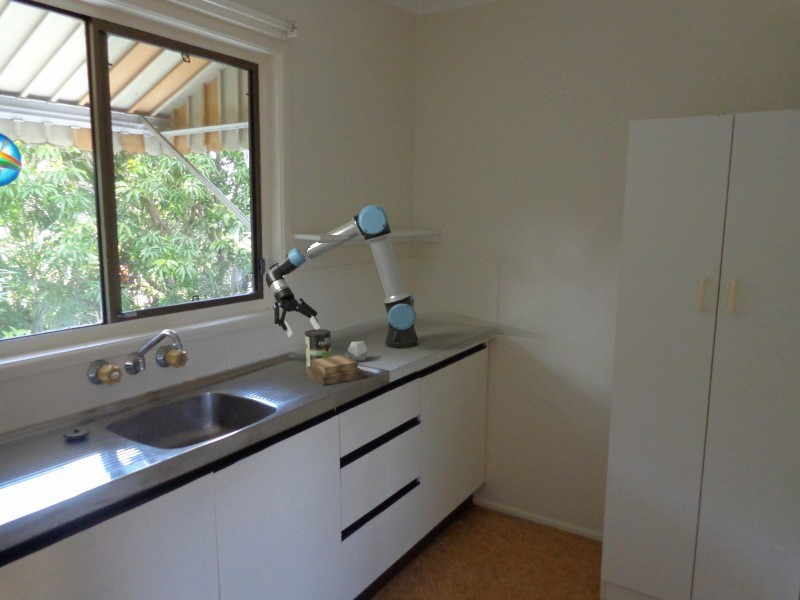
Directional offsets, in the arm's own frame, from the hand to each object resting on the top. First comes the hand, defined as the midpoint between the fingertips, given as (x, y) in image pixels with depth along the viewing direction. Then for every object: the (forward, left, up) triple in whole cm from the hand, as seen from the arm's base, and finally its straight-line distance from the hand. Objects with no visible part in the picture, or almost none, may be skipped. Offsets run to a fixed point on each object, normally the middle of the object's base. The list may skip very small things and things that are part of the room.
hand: (305, 333), depth 236 cm
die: (-20, +8, -13) cm, 25 cm away
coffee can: (-3, +7, -13) cm, 15 cm away
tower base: (-2, +24, -13) cm, 27 cm away
